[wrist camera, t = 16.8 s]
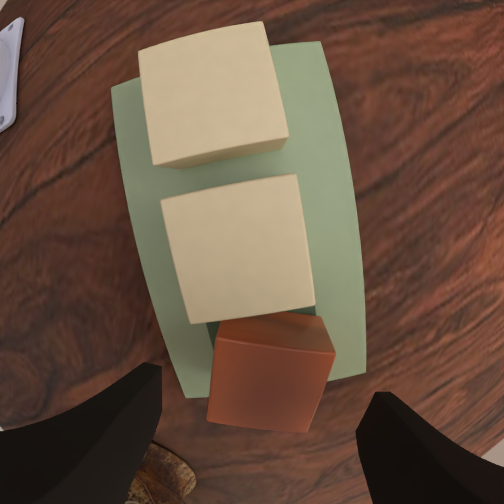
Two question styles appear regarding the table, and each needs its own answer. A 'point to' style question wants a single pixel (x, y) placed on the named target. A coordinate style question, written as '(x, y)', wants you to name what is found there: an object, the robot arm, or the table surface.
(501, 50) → the table surface
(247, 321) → the reddish orange block
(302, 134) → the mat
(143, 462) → the vase
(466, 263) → the table surface
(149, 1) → the table surface
